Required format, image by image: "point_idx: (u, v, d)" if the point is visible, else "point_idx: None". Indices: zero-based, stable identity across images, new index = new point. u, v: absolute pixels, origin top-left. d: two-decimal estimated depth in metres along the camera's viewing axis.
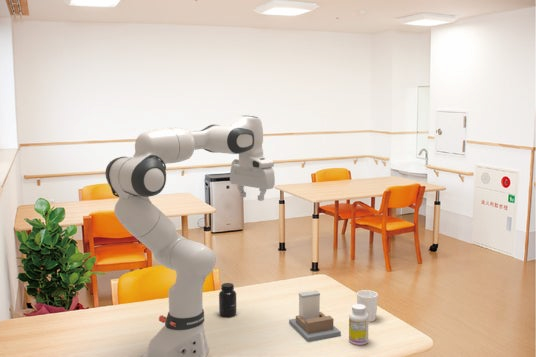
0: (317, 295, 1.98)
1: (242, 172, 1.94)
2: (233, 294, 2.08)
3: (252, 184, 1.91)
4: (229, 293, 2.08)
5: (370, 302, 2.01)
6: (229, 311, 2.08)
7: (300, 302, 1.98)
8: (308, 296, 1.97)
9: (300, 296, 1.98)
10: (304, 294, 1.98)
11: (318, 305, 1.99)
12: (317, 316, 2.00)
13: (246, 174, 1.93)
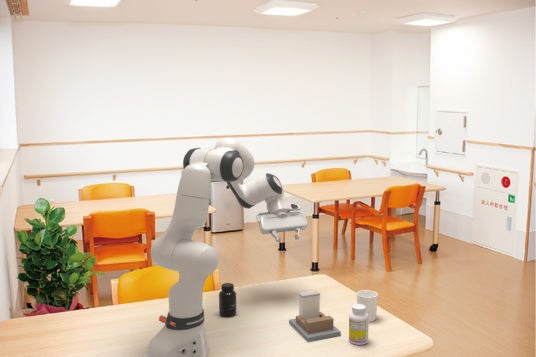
0: (317, 295, 1.98)
1: (275, 218, 2.18)
2: (233, 294, 2.08)
3: (291, 224, 2.17)
4: (229, 293, 2.08)
5: (370, 302, 2.01)
6: (229, 311, 2.08)
7: (300, 302, 1.98)
8: (308, 296, 1.97)
9: (300, 296, 1.98)
10: (304, 294, 1.98)
11: (318, 305, 1.99)
12: (317, 316, 2.00)
13: (281, 219, 2.18)
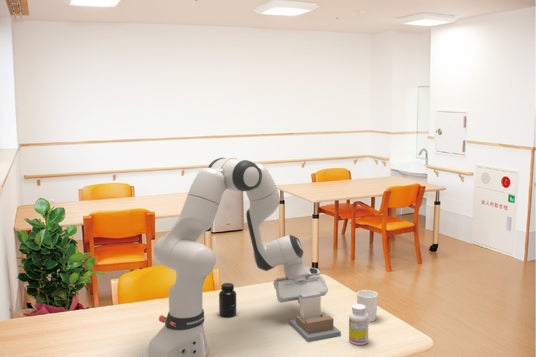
0: (318, 296, 1.98)
1: (294, 285, 2.04)
2: (233, 294, 2.08)
3: (310, 291, 2.04)
4: (229, 293, 2.08)
5: (370, 302, 2.01)
6: (229, 311, 2.08)
7: (301, 303, 1.97)
8: (309, 297, 1.96)
9: (301, 297, 1.97)
10: (305, 295, 1.97)
11: (320, 305, 1.98)
12: (318, 317, 1.99)
13: (299, 285, 2.04)
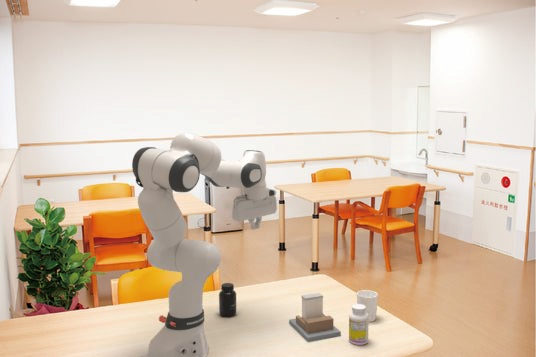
0: (320, 297, 1.96)
1: (251, 206, 1.99)
2: (233, 294, 2.08)
3: (262, 213, 2.03)
4: (229, 293, 2.08)
5: (370, 302, 2.01)
6: (229, 311, 2.08)
7: (303, 304, 1.96)
8: (311, 298, 1.95)
9: (303, 298, 1.95)
10: (307, 296, 1.95)
11: (322, 307, 1.97)
12: None
13: (255, 206, 2.00)
